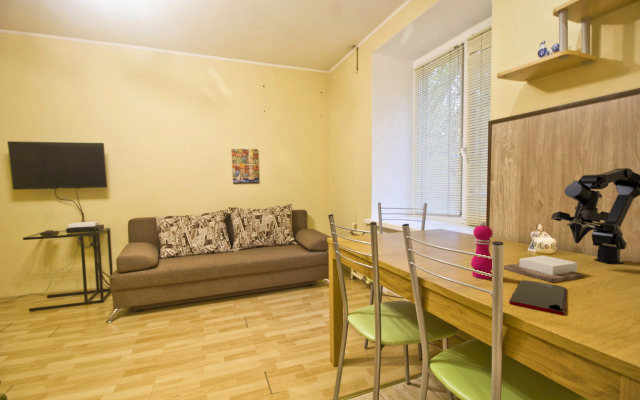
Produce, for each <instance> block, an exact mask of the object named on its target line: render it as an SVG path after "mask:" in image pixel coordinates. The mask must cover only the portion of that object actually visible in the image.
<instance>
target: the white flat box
mask: <svg viewBox="0 0 640 400" xmlns="http://www.w3.org/2000/svg"><path fill="white" fill-rule="evenodd" d="M519 263H520V265H519V266H520V267H524V268H528V269H532V270H535V271H539V272H543V273H547V274H550V275H556V274H562V273H568V272H577V271H578V262H576V261H572V260H566V259H561V258H559V257H558V258H557V257H553V256H552V257H551V256H549V255H537V256H536V255H535V256H530V257H523V258H521V257H520V258H519Z"/></svg>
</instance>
